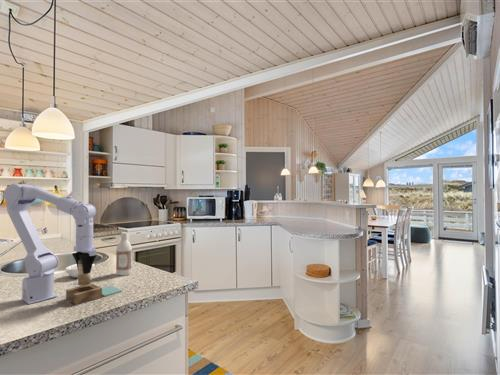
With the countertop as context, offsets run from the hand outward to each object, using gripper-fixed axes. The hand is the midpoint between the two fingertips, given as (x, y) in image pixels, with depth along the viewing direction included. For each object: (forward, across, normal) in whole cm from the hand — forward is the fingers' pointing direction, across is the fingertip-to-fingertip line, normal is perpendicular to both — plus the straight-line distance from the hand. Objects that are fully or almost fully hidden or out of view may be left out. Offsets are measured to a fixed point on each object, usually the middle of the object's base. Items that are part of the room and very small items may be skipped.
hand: (84, 272), depth 108 cm
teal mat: (+10, 0, -9) cm, 13 cm away
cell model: (+10, +30, -10) cm, 33 cm away
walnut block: (+10, 0, 0) cm, 10 cm away
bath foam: (+10, +18, -26) cm, 33 cm away
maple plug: (+4, 0, 0) cm, 4 cm away
